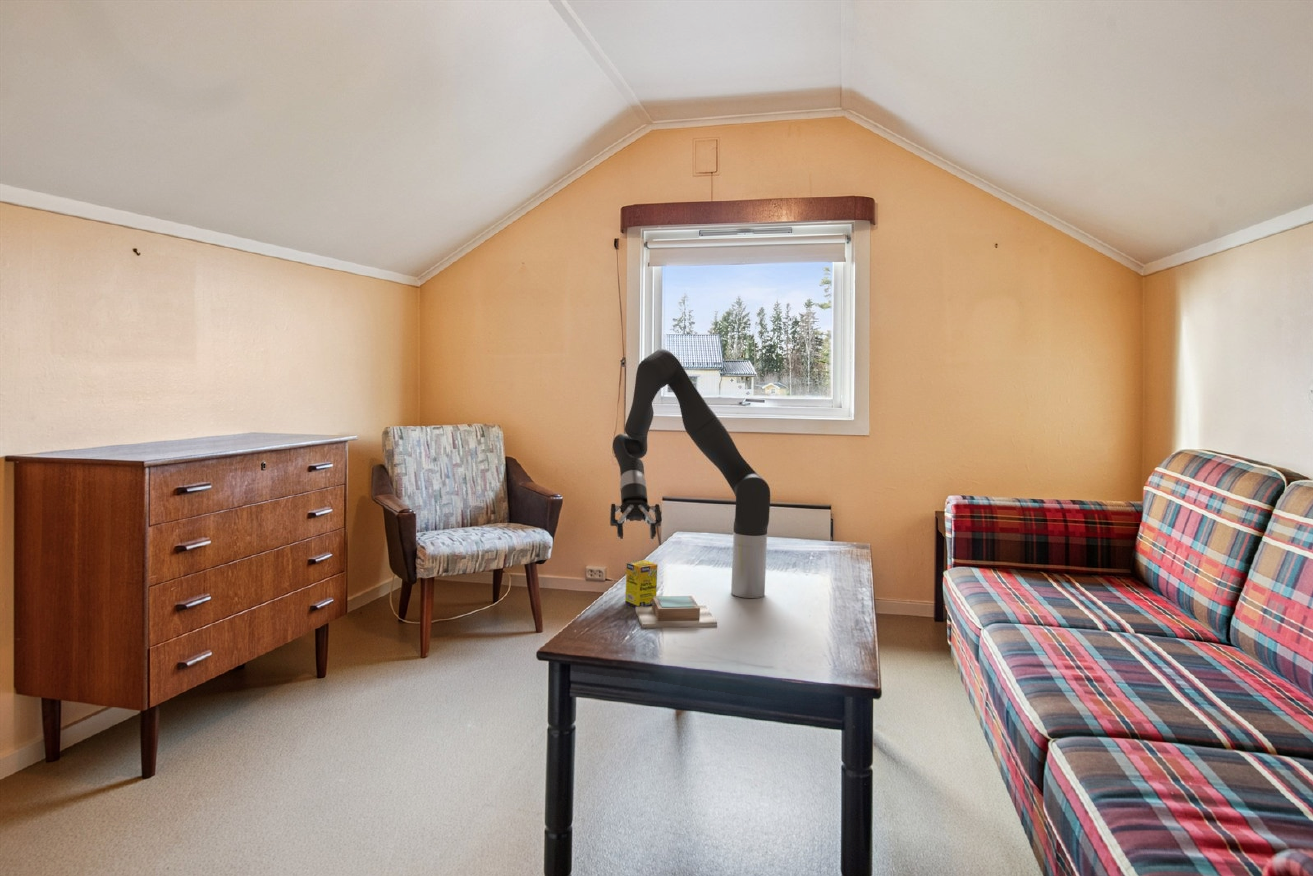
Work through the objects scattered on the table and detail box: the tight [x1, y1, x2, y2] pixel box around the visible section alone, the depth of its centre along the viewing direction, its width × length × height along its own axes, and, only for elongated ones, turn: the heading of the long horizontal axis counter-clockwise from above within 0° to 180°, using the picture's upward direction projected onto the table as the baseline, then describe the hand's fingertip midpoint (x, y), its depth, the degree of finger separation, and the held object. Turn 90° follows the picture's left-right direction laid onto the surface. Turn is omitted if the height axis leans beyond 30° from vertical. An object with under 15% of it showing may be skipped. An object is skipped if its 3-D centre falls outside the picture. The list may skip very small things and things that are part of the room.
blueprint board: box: [635, 595, 718, 629], centre depth 174 cm, size 13×18×4 cm
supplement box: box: [624, 559, 658, 609], centre depth 184 cm, size 6×6×11 cm
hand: (637, 537), depth 194 cm, fingers open, 8 cm apart
